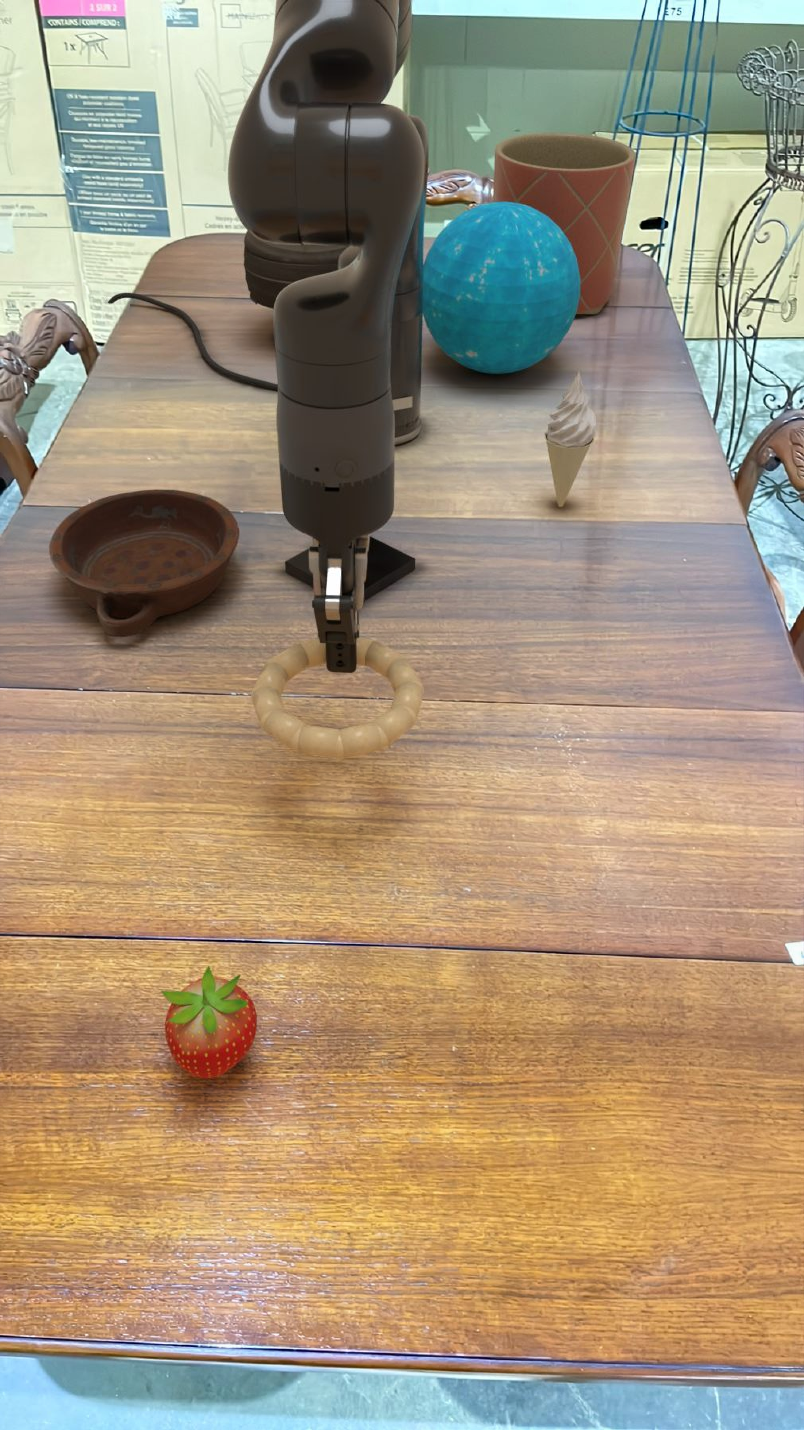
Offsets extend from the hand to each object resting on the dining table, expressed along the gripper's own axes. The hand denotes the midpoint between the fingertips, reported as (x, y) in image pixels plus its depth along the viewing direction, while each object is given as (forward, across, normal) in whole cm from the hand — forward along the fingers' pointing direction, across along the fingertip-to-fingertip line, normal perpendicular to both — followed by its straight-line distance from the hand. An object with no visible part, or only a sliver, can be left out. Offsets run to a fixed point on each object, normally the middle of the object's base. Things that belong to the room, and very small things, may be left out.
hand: (343, 657), depth 81 cm
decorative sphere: (+9, -73, +14) cm, 75 cm away
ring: (-1, +5, 0) cm, 5 cm away
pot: (+10, -81, -10) cm, 82 cm away
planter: (+10, -98, +23) cm, 101 cm away
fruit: (+9, +29, -6) cm, 31 cm away
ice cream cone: (+9, -38, +20) cm, 44 cm away
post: (+9, -24, -1) cm, 26 cm away
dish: (+9, -22, -20) cm, 31 cm away
